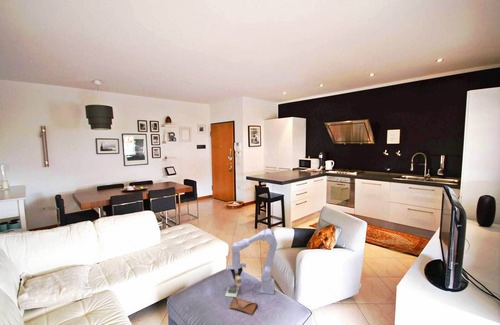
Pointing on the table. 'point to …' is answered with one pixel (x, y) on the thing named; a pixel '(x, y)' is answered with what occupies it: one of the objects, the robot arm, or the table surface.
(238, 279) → the beige piece
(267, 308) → the table surface
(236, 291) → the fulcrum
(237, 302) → the sunglasses case
